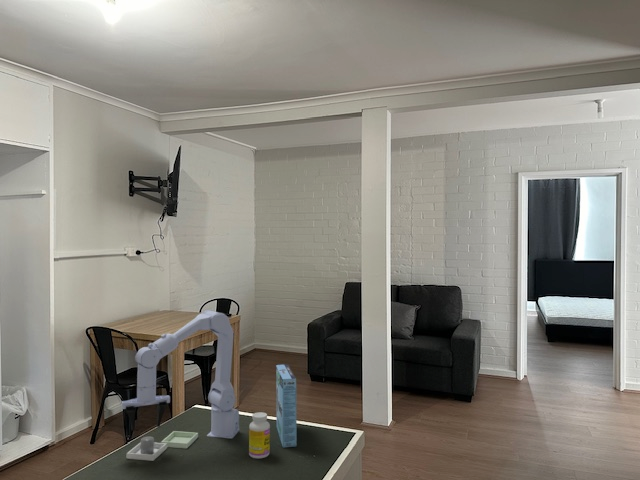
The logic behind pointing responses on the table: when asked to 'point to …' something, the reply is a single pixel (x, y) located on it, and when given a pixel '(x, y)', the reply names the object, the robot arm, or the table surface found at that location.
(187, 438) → the sage tray
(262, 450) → the supplement bottle
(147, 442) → the grey cylinder
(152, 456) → the grey tray
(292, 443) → the light blue carton
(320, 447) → the table surface
